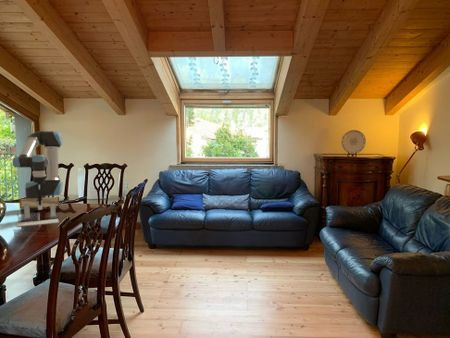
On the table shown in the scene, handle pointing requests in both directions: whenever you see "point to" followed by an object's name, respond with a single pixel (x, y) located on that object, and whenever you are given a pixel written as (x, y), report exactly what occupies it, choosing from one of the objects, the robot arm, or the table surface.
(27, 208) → the post near
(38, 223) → the mat
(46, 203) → the rail
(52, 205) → the post far
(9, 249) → the table surface
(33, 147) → the robot arm
